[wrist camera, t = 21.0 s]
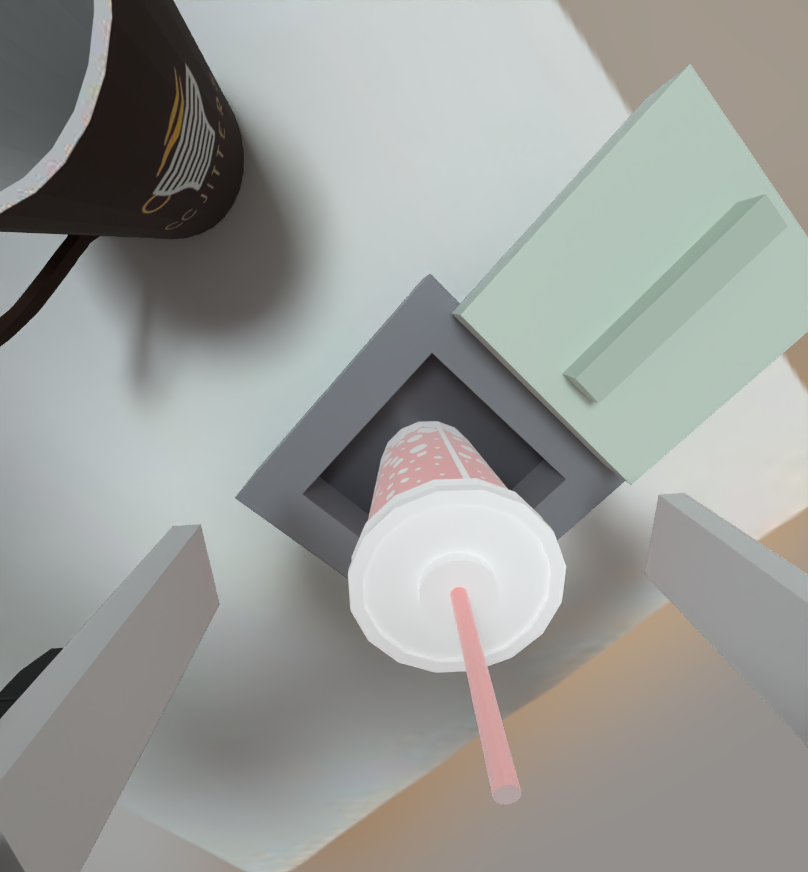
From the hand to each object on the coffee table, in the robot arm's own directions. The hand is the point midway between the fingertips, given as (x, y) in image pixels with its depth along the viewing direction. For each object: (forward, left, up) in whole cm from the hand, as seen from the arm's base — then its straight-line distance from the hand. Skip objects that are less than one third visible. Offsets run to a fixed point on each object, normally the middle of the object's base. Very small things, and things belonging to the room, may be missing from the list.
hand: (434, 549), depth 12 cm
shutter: (+1, +10, -5) cm, 11 cm away
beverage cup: (+1, 0, -8) cm, 8 cm away
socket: (+1, 0, -9) cm, 9 cm away
